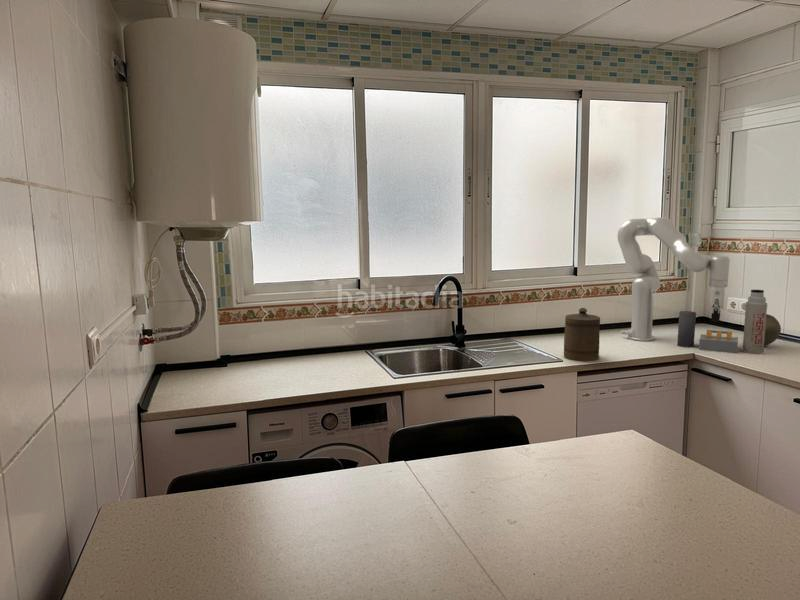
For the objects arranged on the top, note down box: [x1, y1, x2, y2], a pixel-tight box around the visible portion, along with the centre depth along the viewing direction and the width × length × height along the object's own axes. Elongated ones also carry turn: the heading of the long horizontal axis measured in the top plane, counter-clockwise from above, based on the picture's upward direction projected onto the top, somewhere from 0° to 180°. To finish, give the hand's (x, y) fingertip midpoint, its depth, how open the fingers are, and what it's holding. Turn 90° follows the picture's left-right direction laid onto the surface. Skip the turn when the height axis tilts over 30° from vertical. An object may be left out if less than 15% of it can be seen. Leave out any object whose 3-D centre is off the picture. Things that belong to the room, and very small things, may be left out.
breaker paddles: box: [706, 329, 733, 339], centre depth 258 cm, size 10×2×3 cm, turn 59°
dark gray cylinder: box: [676, 310, 697, 348], centre depth 265 cm, size 7×7×16 cm
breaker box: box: [698, 333, 739, 354], centre depth 259 cm, size 15×12×5 cm
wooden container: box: [563, 307, 601, 362], centre depth 248 cm, size 15×15×22 cm
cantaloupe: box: [764, 313, 782, 347], centre depth 262 cm, size 14×14×15 cm
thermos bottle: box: [742, 289, 768, 355], centre depth 251 cm, size 8×8×28 cm
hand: (715, 320), depth 259 cm, fingers open, 9 cm apart
